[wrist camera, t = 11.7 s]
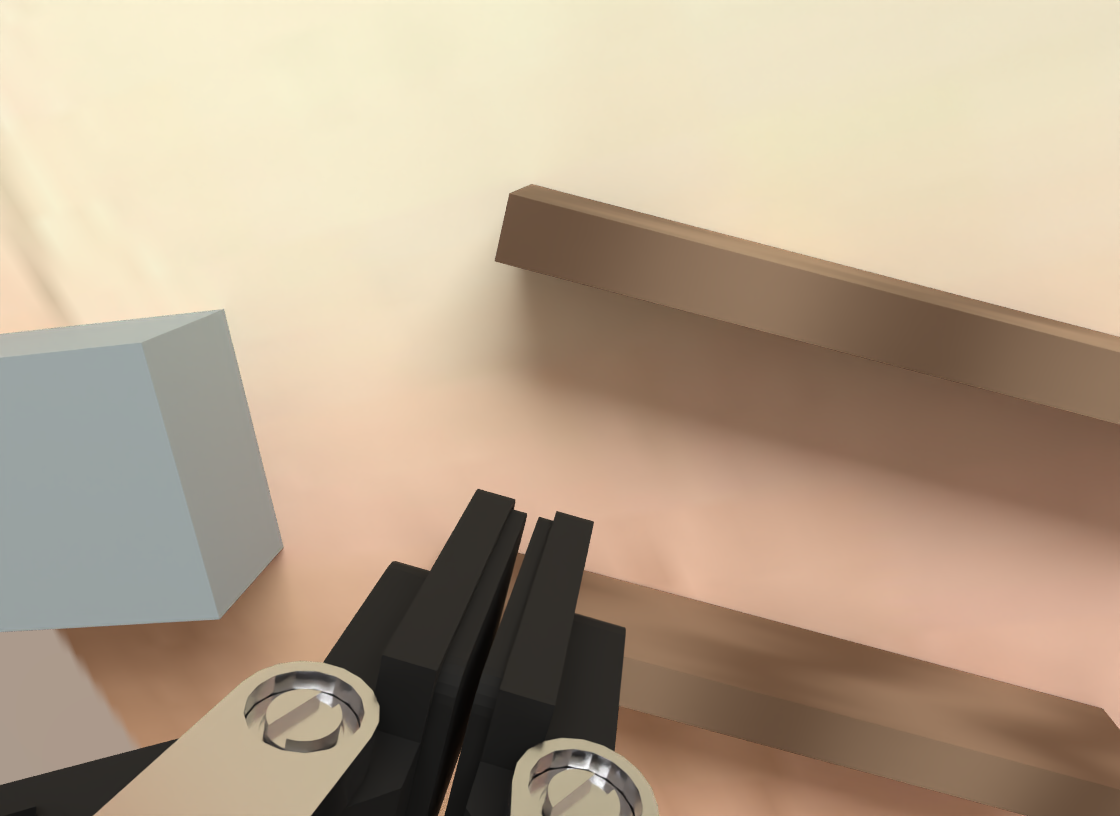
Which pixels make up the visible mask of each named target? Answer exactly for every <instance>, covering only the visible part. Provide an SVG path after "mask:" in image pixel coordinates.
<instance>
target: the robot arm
mask: <svg viewBox="0 0 1120 816" xmlns="http://www.w3.org/2000/svg"><path fill="white" fill-rule="evenodd" d="M514 506H515V499H512V498H509V497H505V496H501V495H498V494H494V493H491V492H487V491H484V490H480V489H477V491H476V492H475V494H474V496H473V497H472V499H471V501H470V503H469V504H468V506H467V508H466V510H465V511H464V513H463V515H462V517H461V518H460V520H459V522H458V524H457V525H456V527H455V529H454V531H453V532H452V534H451V536H450V537H449V539H448V541H447V543H446V544H445V546H444V548H443V550H442V551H441V553H440V555H439V557H438V558H437V560H436V562H435V564H434V565H433V567H432V569H431V571H428V570H425V569H421V568H418V567H414V566H411V565H407V564H404V563H400V562H397V561H394V562H392V563H391V564H390V565H389V566H388V568H387V569H386V571H385V572H384V574H383V575H382V577H381V578H380V579H379V581H378V582H377V584H376V585H375V587H374V588H373V590H372V591H371V593H370V594H369V596H368V597H367V599H366V600H365V602H364V603H363V605H362V606H361V607H360V609H359V610H358V612H357V613H356V615H355V616H354V618H353V619H352V621H351V622H350V624H349V625H348V627H347V628H346V630H345V631H344V632H343V634H342V635H341V637H340V638H339V640H338V641H337V643H336V644H335V646H334V647H333V649H332V650H331V652H330V653H329V655H328V656H327V657H326V659H325V660H324V662H323V663H321V662H308V661H297V662H289V663H281V664H277V665H274V666H271V667H268V668H266V669H263V670H260V671H258V672H256V673H255V674H253V675H252V676H250V677H249V678H247V679H246V680H244V681H243V682H242V683H240V684H239V685H238V686H237V687H236V688H235V689H234V690H233V691H231V692H230V693H229V694H228V695H227V696H226V697H225V698H224V699H223V700H221V701H220V702H219V703H218V704H217V705H216V706H215V707H214V708H213V709H211V710H210V711H209V712H208V713H207V714H206V715H205V716H204V717H203V718H201V719H200V720H199V721H198V722H197V723H196V724H195V725H194V726H192V727H191V728H190V729H189V730H188V731H187V732H186V733H185V734H184V735H182V736H181V737H180V738H179V739H175V740H171V741H167V742H163V743H160V744H156V745H152V746H148V747H144V748H140V749H137V750H133V751H129V752H125V753H122V754H118V755H114V756H110V757H106V758H102V759H99V760H95V761H91V762H87V763H84V764H80V765H76V766H72V767H68V768H64V769H60V770H56V771H52V772H49V773H45V774H41V775H37V776H33V777H29V778H26V779H22V780H18V781H14V782H11V783H7V784H3V785H0V816H438V814H439V811H440V808H441V805H442V802H443V800H444V797H445V794H446V791H447V788H448V785H449V782H450V780H451V777H452V774H453V771H454V768H455V765H456V763H457V760H458V757H459V754H460V757H459V761H458V765H457V769H456V773H455V777H454V780H453V784H452V788H451V792H450V796H449V800H448V804H447V808H446V812H445V816H659V811H658V805H657V802H656V799H655V797H654V794H653V791H652V788H651V786H650V785H649V784H648V782H647V781H646V779H645V778H644V776H643V775H642V774H641V772H640V771H639V770H638V769H637V768H636V767H635V766H633V765H632V764H631V763H630V762H629V761H628V760H627V759H625V758H624V757H623V756H621V755H620V754H618V753H616V752H614V751H615V741H616V730H617V720H618V710H619V700H620V689H621V679H622V669H623V658H624V648H625V638H626V628H625V627H622V626H618V625H615V624H612V623H608V622H605V621H601V620H598V619H594V618H591V617H587V616H584V615H580V614H577V613H575V609H576V605H577V600H578V595H579V590H580V586H581V581H582V576H583V572H584V567H585V562H586V557H587V553H588V548H589V543H590V538H591V534H592V529H593V524H594V522H593V521H590V520H586V519H583V518H579V517H576V516H572V515H569V514H565V513H562V512H558V511H557V512H556V515H555V518H554V521H552V520H548V519H545V518H541V517H539V518H538V521H537V523H536V526H535V529H534V532H533V534H532V537H531V540H530V543H529V545H528V548H527V551H526V554H525V556H524V559H523V562H522V565H521V567H520V570H519V573H518V576H517V578H516V581H515V584H514V587H513V589H512V592H511V595H510V598H509V600H508V603H507V606H506V609H505V612H504V614H503V617H502V620H501V616H502V612H503V608H504V604H505V600H506V596H507V592H508V588H509V584H510V581H511V577H512V573H513V569H514V565H515V561H516V557H517V553H518V549H519V546H520V542H521V538H522V534H523V530H524V526H525V522H526V518H527V513H524V512H520V511H517V510H514ZM500 620H501V623H500ZM499 623H500V625H499ZM498 627H499V628H498ZM461 748H462V749H461ZM460 751H461V753H460Z"/></svg>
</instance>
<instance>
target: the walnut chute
mask: <svg viewBox="0 0 1120 816" xmlns="http://www.w3.org/2000/svg"><path fill="white" fill-rule="evenodd" d="M495 261H496V262H500V263H503V264H507V265H511V266H515V267H519V268H522V269H526V270H530V271H534V272H538V273H542V274H545V275H549V276H553V277H557V278H561V279H564V280H568V281H572V282H576V283H580V284H584V285H587V286H591V287H595V288H599V289H603V290H606V291H610V292H614V293H618V294H622V295H626V296H629V297H633V298H637V299H641V300H645V301H649V302H652V303H656V304H660V305H664V306H668V307H671V308H675V309H679V310H683V311H687V312H691V313H694V314H698V315H702V316H706V317H710V318H713V319H717V320H721V321H725V322H729V323H733V324H736V325H740V326H744V327H748V328H752V329H755V330H759V331H763V332H767V333H771V334H775V335H778V336H782V337H786V338H790V339H794V340H797V341H801V342H805V343H809V344H813V345H817V346H820V347H824V348H828V349H832V350H836V351H840V352H843V353H847V354H851V355H855V356H859V357H862V358H866V359H870V360H874V361H878V362H882V363H885V364H889V365H893V366H897V367H901V368H904V369H908V370H912V371H916V372H920V373H924V374H927V375H931V376H935V377H939V378H943V379H946V380H950V381H954V382H958V383H962V384H966V385H969V386H973V387H977V388H981V389H985V390H988V391H992V392H996V393H1000V394H1004V395H1008V396H1011V397H1015V398H1019V399H1023V400H1027V401H1030V402H1034V403H1038V404H1042V405H1046V406H1050V407H1053V408H1057V409H1061V410H1065V411H1069V412H1073V413H1076V414H1080V415H1084V416H1088V417H1092V418H1095V419H1099V420H1103V421H1107V422H1111V423H1115V424H1118V425H1120V337H1117V336H1113V335H1109V334H1105V333H1101V332H1098V331H1094V330H1090V329H1086V328H1082V327H1078V326H1075V325H1071V324H1067V323H1063V322H1059V321H1055V320H1052V319H1048V318H1044V317H1040V316H1036V315H1032V314H1028V313H1025V312H1021V311H1017V310H1013V309H1009V308H1005V307H1002V306H998V305H994V304H990V303H986V302H982V301H979V300H975V299H971V298H967V297H963V296H959V295H955V294H952V293H948V292H944V291H940V290H936V289H932V288H929V287H925V286H921V285H917V284H913V283H909V282H906V281H902V280H898V279H894V278H890V277H886V276H882V275H879V274H875V273H871V272H867V271H863V270H859V269H856V268H852V267H848V266H844V265H840V264H836V263H833V262H829V261H825V260H821V259H817V258H813V257H809V256H806V255H802V254H798V253H794V252H790V251H786V250H783V249H779V248H775V247H771V246H767V245H763V244H760V243H756V242H752V241H748V240H744V239H740V238H736V237H733V236H729V235H725V234H721V233H717V232H713V231H710V230H706V229H702V228H698V227H694V226H690V225H687V224H683V223H679V222H675V221H671V220H667V219H663V218H660V217H656V216H652V215H648V214H644V213H640V212H637V211H633V210H629V209H625V208H621V207H617V206H614V205H610V204H606V203H602V202H598V201H594V200H590V199H587V198H583V197H579V196H575V195H571V194H567V193H564V192H560V191H556V190H552V189H548V188H544V187H540V186H537V185H533V184H531V185H529V186H526V187H524V188H521V189H519V190H517V191H514V192H512V193H509V198H508V202H507V207H506V212H505V216H504V221H503V225H502V230H501V235H500V239H499V244H498V248H497V253H496V258H495ZM524 556H525V555H524V554H521V553H517V557H516V561H515V565H514V569H513V573H512V577H511V581H510V584H509V588H508V592H507V596H506V600H505V604H504V608H503V612H502V616H501V620H502V617H503V614H504V612H505V609H506V606H507V603H508V600H509V598H510V595H511V592H512V589H513V587H514V584H515V581H516V578H517V576H518V573H519V570H520V567H521V565H522V562H523V559H524ZM575 613H577V614H580V615H584V616H587V617H591V618H594V619H598V620H601V621H605V622H608V623H612V624H615V625H618V626H622V627H625V628H626V638H625V648H624V658H623V669H622V679H621V689H620V700H619V706H621V707H624V708H628V709H632V710H636V711H639V712H643V713H647V714H650V715H654V716H658V717H662V718H665V719H669V720H673V721H676V722H680V723H684V724H688V725H691V726H695V727H699V728H702V729H706V730H710V731H714V732H717V733H721V734H725V735H729V736H732V737H736V738H740V739H743V740H747V741H751V742H755V743H758V744H762V745H766V746H769V747H773V748H777V749H781V750H784V751H788V752H792V753H795V754H799V755H803V756H807V757H810V758H814V759H818V760H821V761H825V762H829V763H833V764H836V765H840V766H844V767H847V768H851V769H855V770H859V771H862V772H866V773H870V774H873V775H877V776H881V777H885V778H888V779H892V780H896V781H899V782H903V783H907V784H911V785H914V786H918V787H922V788H925V789H929V790H933V791H937V792H940V793H944V794H948V795H951V796H955V797H959V798H963V799H966V800H970V801H974V802H977V803H981V804H985V805H989V806H992V807H996V808H1000V809H1004V810H1007V811H1011V812H1015V813H1018V814H1022V815H1026V816H1120V729H1119V728H1118V727H1117V726H1116V724H1115V723H1114V722H1113V721H1112V719H1111V718H1110V717H1109V716H1108V715H1107V713H1106V712H1105V711H1104V710H1103V709H1102V708H1098V707H1094V706H1090V705H1087V704H1083V703H1079V702H1075V701H1072V700H1068V699H1064V698H1060V697H1057V696H1053V695H1049V694H1045V693H1042V692H1038V691H1034V690H1030V689H1027V688H1023V687H1019V686H1015V685H1012V684H1008V683H1004V682H1000V681H997V680H993V679H989V678H985V677H982V676H978V675H974V674H970V673H967V672H963V671H959V670H955V669H952V668H948V667H944V666H940V665H937V664H933V663H929V662H925V661H922V660H918V659H914V658H910V657H907V656H903V655H899V654H895V653H892V652H888V651H884V650H880V649H877V648H873V647H869V646H865V645H862V644H858V643H854V642H851V641H847V640H843V639H839V638H836V637H832V636H828V635H824V634H821V633H817V632H813V631H809V630H806V629H802V628H798V627H794V626H791V625H787V624H783V623H779V622H776V621H772V620H768V619H764V618H761V617H757V616H753V615H749V614H746V613H742V612H738V611H734V610H731V609H727V608H723V607H719V606H716V605H712V604H708V603H704V602H701V601H697V600H693V599H689V598H686V597H682V596H678V595H674V594H671V593H667V592H663V591H659V590H656V589H652V588H648V587H644V586H641V585H637V584H633V583H629V582H626V581H622V580H618V579H614V578H611V577H607V576H603V575H599V574H596V573H592V572H588V571H584V572H583V576H582V581H581V586H580V590H579V595H578V600H577V605H576V609H575ZM501 620H500V623H501ZM500 623H499V625H500ZM498 628H499V627H498Z"/></svg>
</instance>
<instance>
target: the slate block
mask: <svg viewBox="0 0 1120 816" xmlns="http://www.w3.org/2000/svg"><path fill="white" fill-rule="evenodd" d="M282 548H283V543H282V539H281V535H280V531H279V527H278V523H277V519H276V515H275V511H274V507H273V503H272V499H271V495H270V491H269V487H268V483H267V479H266V475H265V471H264V467H263V463H262V459H261V455H260V452H259V448H258V444H257V440H256V436H255V432H254V428H253V424H252V420H251V416H250V412H249V408H248V404H247V400H246V396H245V392H244V388H243V384H242V380H241V376H240V372H239V368H238V364H237V360H236V356H235V352H234V348H233V344H232V340H231V336H230V332H229V328H228V324H227V320H226V316H225V312H224V309H221V310H212V311H203V312H194V313H185V314H176V315H167V316H158V317H149V318H140V319H131V320H122V321H113V322H104V323H95V324H86V325H77V326H68V327H59V328H51V329H42V330H33V331H24V332H15V333H6V334H0V632H10V631H28V630H45V629H62V628H79V627H97V626H114V625H131V624H148V623H165V622H182V621H199V620H216V619H220V618H221V617H222V616H223V615H224V614H225V613H226V612H227V610H228V609H229V608H230V607H231V606H232V605H233V604H234V603H235V601H236V600H237V599H238V598H239V597H240V596H241V595H242V594H243V592H244V591H245V590H246V589H247V588H248V587H249V586H250V584H251V583H252V582H253V581H254V580H255V579H256V578H257V577H258V575H259V574H260V573H261V572H262V571H263V570H264V569H265V567H266V566H267V565H268V564H269V563H270V562H271V561H272V560H273V558H274V557H275V556H276V555H277V554H278V553H279V552H280V551H281V549H282Z"/></svg>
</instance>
